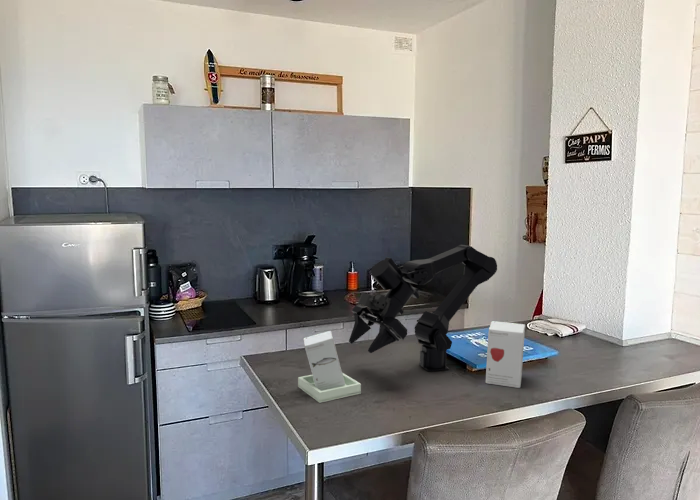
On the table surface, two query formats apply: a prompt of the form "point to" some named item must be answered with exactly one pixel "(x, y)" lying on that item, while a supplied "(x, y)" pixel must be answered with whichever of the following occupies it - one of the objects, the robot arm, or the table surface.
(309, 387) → the dock tray
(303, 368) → the table surface
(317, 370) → the supplement box
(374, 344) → the robot arm
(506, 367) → the supplement box
